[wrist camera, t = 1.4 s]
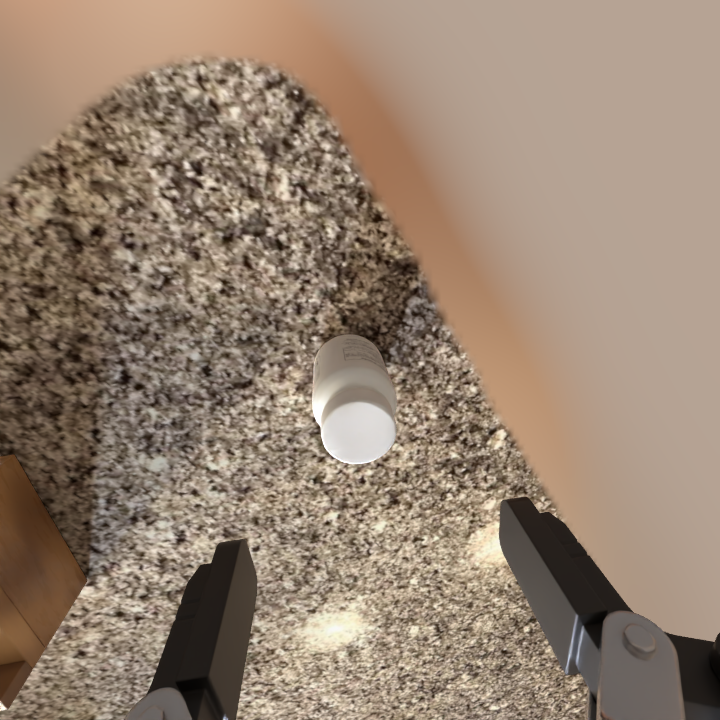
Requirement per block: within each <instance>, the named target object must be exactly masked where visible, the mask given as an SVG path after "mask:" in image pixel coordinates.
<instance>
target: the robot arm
mask: <svg viewBox="0 0 720 720" xmlns="http://www.w3.org/2000/svg"><path fill="white" fill-rule="evenodd" d="M499 540H500V545H501V548H502V551H503V554H504V556H505V558H506V560H507V562H508V564H509V566H510V568H511V570H512V572H513V574H514V576H515V578H516V580H517V582H518V583H519V585H520V587H521V589H522V591H523V593H524V595H525V597H526V599H527V601H528V603H529V605H530V607H531V609H532V610H533V612H534V614H535V616H536V618H537V620H538V622H539V624H540V626H541V628H542V630H543V632H544V634H545V636H546V637H547V639H548V641H549V643H550V645H551V647H552V649H553V651H554V653H555V655H556V657H557V659H558V661H559V663H560V664H561V666H562V668H563V670H564V672H565V674H566V675H572V674H578V673H581V675H582V677H583V678H584V680H585V682H586V684H587V686H588V691H587V705H586V720H720V633H719V634H718V635H717V638H716V640H715V642H711V641H706V640H700V639H694V638H688V637H682V636H677V635H673V634H669V633H666V632H663V631H662V630H661V629H660V628H659V627H658V626H657V625H656V624H654V623H653V622H652V621H650V620H648V619H647V618H645V617H643V616H641V615H639V614H636V613H634V612H633V611H632V610H631V609H630V608H629V607H628V606H627V605H626V603H625V602H624V601H623V599H622V598H621V597H620V595H619V594H618V593H617V591H616V590H615V589H614V588H613V586H612V585H611V584H610V582H609V581H608V580H607V578H606V577H605V576H604V574H603V573H602V572H601V570H600V569H599V568H598V567H597V565H596V564H595V563H594V561H593V560H592V559H591V557H590V556H588V555H587V552H586V551H585V549H584V548H583V547H582V546H581V544H580V543H578V542H577V539H576V538H575V536H574V535H573V534H572V532H571V531H570V530H569V528H568V527H567V526H566V525H565V524H564V523H563V522H562V521H560V520H559V519H558V518H556V517H555V516H554V515H552V514H551V513H549V512H544V513H539V512H538V510H537V509H536V507H535V506H534V504H533V503H532V502H531V500H530V499H529V498H527V497H520V498H514V499H507V500H502V502H501V509H500V527H499ZM256 596H257V575H256V571H255V568H254V564H253V561H252V558H251V554H250V551H249V548H248V545H247V542H246V540H245V539H240V540H233V541H227V542H220V543H219V544H218V545H217V547H216V550H215V553H214V557H213V560H212V563H210V564H203V565H200V567H199V568H198V569H197V571H196V572H195V573H194V575H193V576H192V577H191V579H190V580H189V581H188V583H187V586H186V589H185V592H184V595H183V597H182V600H181V605H180V606H179V609H178V611H177V614H176V617H175V618H176V620H175V621H174V623H173V625H172V628H171V631H170V634H169V637H168V639H167V642H166V645H165V648H164V651H163V653H162V656H161V659H160V662H159V665H158V667H157V670H156V673H155V676H154V679H153V681H152V684H151V686H150V689H149V691H148V693H147V694H146V696H145V697H143V698H142V699H141V700H140V701H139V702H138V703H136V705H135V706H134V707H133V708H132V709H131V710H130V712H129V713H128V714H127V715H126V717H125V719H124V720H236V715H237V709H238V703H239V697H240V691H241V685H242V679H243V673H244V668H245V662H246V656H247V650H248V644H249V638H250V632H251V626H252V620H253V614H254V608H255V602H256Z"/></svg>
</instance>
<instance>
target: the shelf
mask: <svg viewBox="0 0 720 720" xmlns="http://www.w3.org/2000/svg"><path fill="white" fill-rule="evenodd" d="M86 582H87V579H86V577H85V575H84V574H83V572H82V570H81V568H80V567H79V565H78V563H77V561H76V560H75V558H74V556H73V555H72V553H71V551H70V549H69V548H68V546H67V544H66V543H65V541H64V539H63V537H62V536H61V534H60V532H59V530H58V529H57V527H56V525H55V524H54V522H53V520H52V518H51V517H50V515H49V513H48V512H47V510H46V508H45V506H44V505H43V503H42V501H41V499H40V498H39V496H38V494H37V493H36V491H35V489H34V487H33V486H32V484H31V482H30V480H29V479H28V477H27V475H26V474H25V472H24V470H23V468H22V467H21V465H20V463H19V462H18V460H17V458H16V456H15V455H7V456H0V711H1V710H7V709H9V707H10V706H11V704H12V702H13V701H14V699H15V698H16V696H17V694H18V693H19V691H20V689H21V688H22V686H23V685H24V683H25V681H26V680H27V678H28V677H29V675H30V673H31V672H32V669H33V668H34V666H35V665H36V663H37V662H38V660H39V658H40V657H41V655H42V654H43V652H44V650H45V648H46V647H47V645H48V644H49V642H50V641H51V639H52V637H53V636H54V634H55V632H56V631H57V629H58V628H59V626H60V624H61V623H62V621H63V619H64V618H65V616H66V615H67V613H68V611H69V610H70V608H71V607H72V605H73V603H74V602H75V600H76V598H77V597H78V595H79V594H80V592H81V590H82V589H83V587H84V586H85V584H86Z"/></svg>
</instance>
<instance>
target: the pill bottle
mask: <svg viewBox="0 0 720 720" xmlns="http://www.w3.org/2000/svg"><path fill="white" fill-rule="evenodd" d="M312 406H313V413H314V416H315V419H316V421H317V422H318V424H319V425H320V427H321V437H322V441H323V444H324V446H325V448H326V450H327V451H328V452H329V453H330V454H331V455H332V456H333V457H335V458H336V459H338V460H340V461H342V462H345V463H351V464H362V463H368V462H371V461H374V460H376V459H378V458H380V457H381V456H383V455H384V454H385V453H386V452H387V451H388V450H389V449H390V448H391V446H392V445H393V443H394V440H395V437H396V431H397V427H396V422H395V418H394V415H395V411H396V407H397V397H396V392H395V389H394V386H393V383H392V381H391V379H390V377H389V374H388V371H387V369H386V366H385V363H384V361H383V358H382V356H381V354H380V352H379V350H378V349H377V347H376V346H375V345H374V344H373V343H372V342H371V341H369V340H368V339H366V338H364V337H361V336H358V335H352V334H345V335H340V336H337V337H334V338H332V339H330V340H329V341H327V342H326V343H325V344H324V345H323V346H322V347H321V348H320V349H319V351H318V353H317V355H316V357H315V361H314V370H313V395H312Z"/></svg>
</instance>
